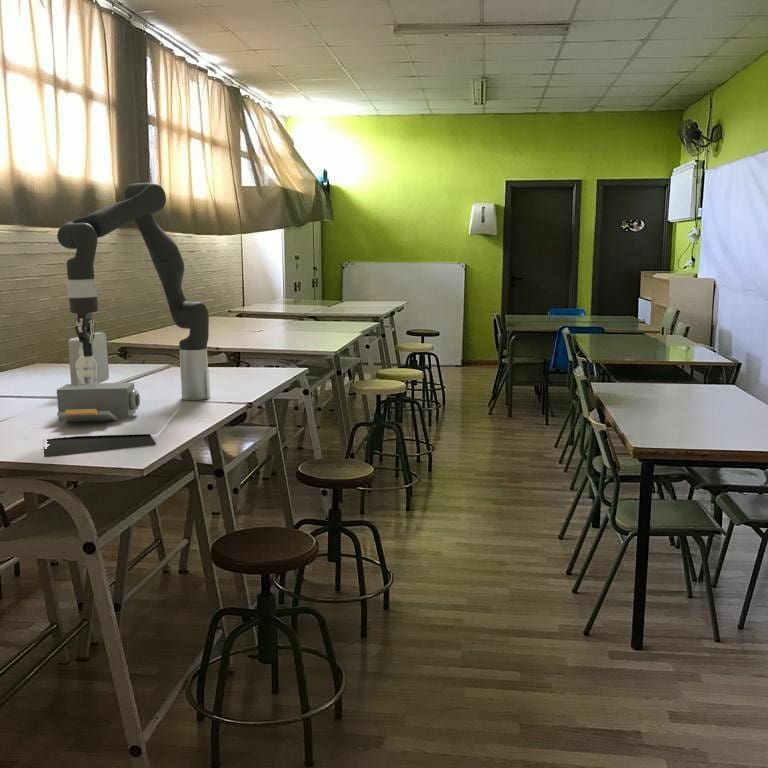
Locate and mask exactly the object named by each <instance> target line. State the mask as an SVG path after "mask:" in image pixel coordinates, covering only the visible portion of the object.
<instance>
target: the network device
mask: <svg viewBox="0 0 768 768" xmlns="http://www.w3.org/2000/svg"><path fill="white" fill-rule="evenodd" d="M107 342H108V341H107V333H106V332H95V335H94V340H93V343H92V349H93V355H92V357H93V358H94V359H95V361H96V363H97V381H96V382H97V383H104V382H105V381H108V380H109V378H110V373H109V370H110V369H109V358H108V357H109V355H108V343H107ZM67 346H68V348H67V349H68V357H69V358H68V360H69V371H70V373H69V374H70V384H79V382H78V376H77V372H76V368H75V364H76V361H77V360H78V358H79V357H80V355H79V348H83V344H82V343H81V342H80V341H79V338H78V336H77V337H72V338H69V339H68V341H67Z"/></svg>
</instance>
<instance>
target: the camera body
mask: <svg viewBox="0 0 768 768" xmlns="http://www.w3.org/2000/svg"><path fill="white" fill-rule="evenodd" d="M56 400H57V409H58V411H57V412H66V410H73V409H96V410H97V411H110V412H111V413H112V414H113V415H115V416H116V417H117V418H118V420H128V419H130V418H132V416H133V415H135V413H136V412H137V410H138V409H139V407H140V405H141V403H140V402H141V396H140V393H139V391H138V389H135V382H107V383H106V382H105V383H104V382H101V383H97V384H71V383H66V384H64V385H63V386H61V387H59V388H58V389H56ZM58 421H60V422H61V421H62V422H63V421H65V420H64V419H62V418H60V417H59V416H58Z"/></svg>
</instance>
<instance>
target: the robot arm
mask: <svg viewBox="0 0 768 768" xmlns="http://www.w3.org/2000/svg"><path fill="white" fill-rule="evenodd" d="M166 195H167V193H166V192H165V190H164V188H163V187H162V186H161V185H160V184H159V183H155V182H138V183H137V182H136V183H130V184H128V185H127V186H126V187H125V190H124V200H123V201H119V202H115V203H112V204H111V203H110V204H109V205H105V206H102V207H101V208H99V209H97V210H95V211H93V212H92V213H90V214H87V215H86V216H82V217H79V218H75V219H73V220H70V221H68V222H65V223H63V224H62V225H61V226H60V227H59V229H58V231H57V235H56V236H57V241H58V242H59V244H60V245H61V246H62V247H63V248H66V249H70V250H76V252H75V255H74V257H71V258H68V260H67V261H66V273H67V294H68V306H69V312H70V313H72V314H77V316H76V317H77V319H76V320H75V321H76V322H75V323H76V325H75V326H74V329H75V332H76V335H77V337H78V338H79V341H80V342H81V343H82V344H83V353H84V356H85V357H91V356H92V355H93V349H92V343H93V340H94V335H95V333H96V324H97V323H96V321H95V319H94V318H93V313H97V312H98V311H99V301H98V290H97V285H96V279H95V270H94V269H95V267H94V263H95V258H96V252H97V247H98V238H99V239H100V238H103V237H106V236H107V235H109V234H110V233H112V232H114V231H116V230H117V229H119V228H121V227H123V226H124V225H126V224H129V223H130V222H133V221H134V222H135V224H136V226H137V228H138V231H139V233H140V235H141V236H142V239H143V242H144V243H145V245H146V248H147V250H148V253H149V255H150V258H151V262H152V264H153V266H154V269H155V271H156V273H157V275H158V278H159V281H160V283H161V286H162V289H163V292H164V295H165V298H166V301H167V304H168V308H169V311H170V315H171V318H172V319H173V322H174V324H175V326H176V327H178V328H180V329H187V330H188V329H189V335H188V336H187V337H185V338H183V339H181V340H180V341H179V343H178V344H179V349H178V350H179V365H180V385H181V386H180V388H181V399H182V400H186V401H199V400H200V401H201V400H209V398H210V397H211V389H210V387H211V386H210V384H211V383H210V369H209V365H208V364H209V363H208V361H209V360H208V342H209V335H210V334H209V332H210V331H209V327H210V325H209V323H210V317H209V310H208V307H207V305H206V304H205V303H204V302H201V301H187V299H186V297H185V294H184V291H183V288H182V282H183V278H184V273H185V262H184V259H183V257H182V254H181V251H180V249H179V247H178V245H177V244H176V242H175V241H174V240H173V239H172V238H171V237H170V235H168V234H167V233H166V232H165V231H164V230H163V229H162V228H161V227H160V225H159V224H158V223H157V221H156V219H155V217H154V215H153V214H155V213H159V212H160V211H162V210H163V209H164V207H166V203H167V196H166Z"/></svg>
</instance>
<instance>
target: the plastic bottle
mask: <svg viewBox="0 0 768 768" xmlns="http://www.w3.org/2000/svg"><path fill="white" fill-rule="evenodd" d="M79 355H80V357H79V358H78V360H77V361H76V364H75V368H76V372H77V376H78V382H79V384H97V382H96V381H97V363H96V361H95V359H94V358H93V357H92V356H91V357H85V356H84V353H83V348H79Z"/></svg>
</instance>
